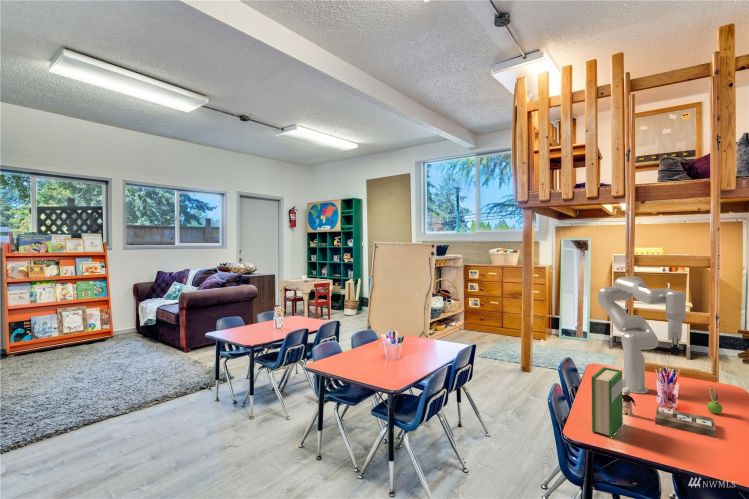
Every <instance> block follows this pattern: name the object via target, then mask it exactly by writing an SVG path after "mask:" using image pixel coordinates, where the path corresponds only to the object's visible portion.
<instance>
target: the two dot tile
mask: <svg viewBox="0 0 749 499" xmlns="http://www.w3.org/2000/svg"><path fill="white" fill-rule="evenodd" d="M658 407H659V415H663V416H667V417H672V418H673V410H674V409H671V408H666V407H661V406H658ZM660 407H661V408H660ZM665 408H666V409H665ZM670 409H671V410H670Z"/></svg>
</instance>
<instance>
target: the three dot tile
mask: <svg viewBox="0 0 749 499" xmlns="http://www.w3.org/2000/svg"><path fill="white" fill-rule="evenodd" d="M677 419H681V420H686V421H691V422H692V417H687V416H682V415H677Z"/></svg>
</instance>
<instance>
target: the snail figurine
mask: <svg viewBox="0 0 749 499" xmlns="http://www.w3.org/2000/svg"><path fill="white" fill-rule="evenodd" d="M709 395H710V400H711V401H709V402H708V403H707V405H706V409H707V410H708V412H710V413H712V414H714V415H715V414H717V415H718V414H721V413H722V412H723V405H721V404H720V403H719V401H718V400H719V395H718V392H716V391H715V390H714V389H713V385H709Z"/></svg>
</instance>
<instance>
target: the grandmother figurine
mask: <svg viewBox="0 0 749 499" xmlns="http://www.w3.org/2000/svg"><path fill="white" fill-rule="evenodd" d="M622 400H623V415H625V416H629V417H634V416H635V415H634V413H633V406H634V407H636V406H637V404H636V401H635V399H634V398H633V397H632V396H631V392H630V388H628V387H625V388H624V389H622ZM632 404H633V406H632Z"/></svg>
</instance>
